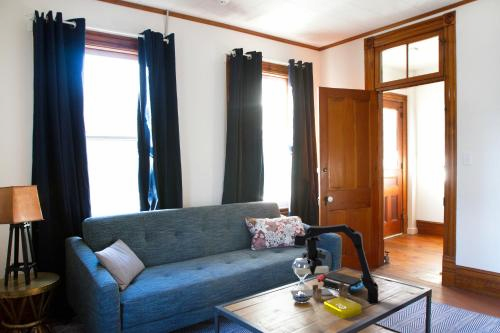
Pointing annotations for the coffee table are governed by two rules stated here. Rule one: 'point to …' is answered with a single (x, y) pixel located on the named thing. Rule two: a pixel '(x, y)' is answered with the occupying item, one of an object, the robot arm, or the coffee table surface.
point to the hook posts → (318, 292)
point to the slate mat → (310, 292)
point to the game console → (341, 281)
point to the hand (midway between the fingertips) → (311, 273)
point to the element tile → (342, 307)
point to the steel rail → (307, 270)
